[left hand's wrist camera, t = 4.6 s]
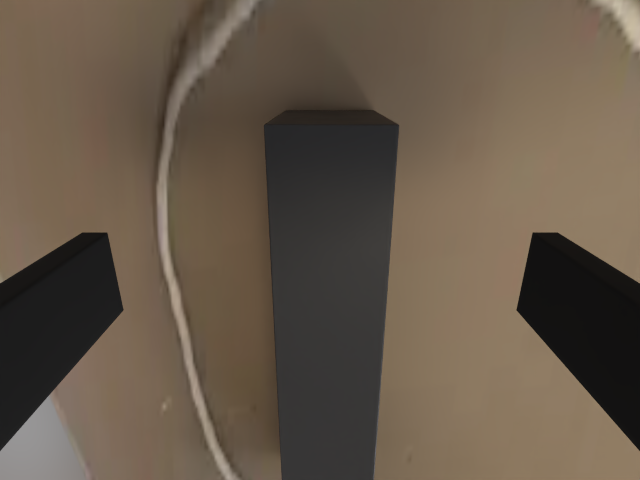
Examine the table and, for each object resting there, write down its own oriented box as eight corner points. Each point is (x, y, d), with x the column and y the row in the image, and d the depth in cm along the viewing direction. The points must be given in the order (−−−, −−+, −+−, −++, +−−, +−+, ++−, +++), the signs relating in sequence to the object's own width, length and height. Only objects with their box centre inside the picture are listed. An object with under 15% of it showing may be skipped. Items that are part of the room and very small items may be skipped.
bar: (284, 110, 23) (263, 124, 15) (374, 110, 23) (399, 124, 15) (295, 455, 33) (286, 569, 26) (357, 456, 33) (367, 571, 26)
